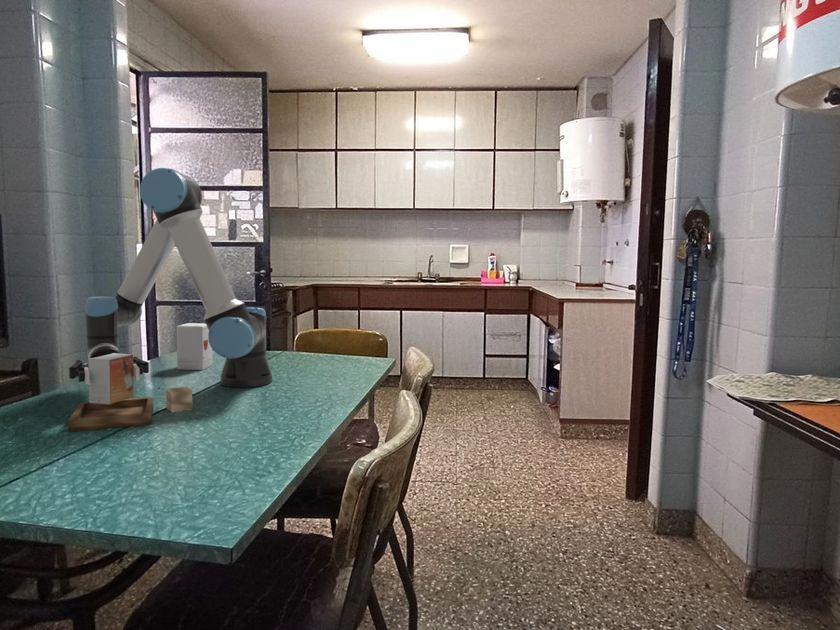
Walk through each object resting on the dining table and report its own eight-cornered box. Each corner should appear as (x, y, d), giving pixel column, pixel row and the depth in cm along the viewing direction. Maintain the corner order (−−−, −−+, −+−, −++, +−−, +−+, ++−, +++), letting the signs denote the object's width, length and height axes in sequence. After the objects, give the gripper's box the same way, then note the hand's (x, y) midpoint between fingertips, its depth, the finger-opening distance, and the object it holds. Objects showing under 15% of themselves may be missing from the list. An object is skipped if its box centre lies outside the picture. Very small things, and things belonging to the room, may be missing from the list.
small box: (109, 405, 125) (108, 359, 124) (88, 403, 126) (87, 358, 125) (134, 397, 133) (133, 354, 132) (114, 395, 134) (113, 352, 133)
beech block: (186, 405, 143) (186, 386, 142) (192, 409, 139) (192, 390, 138) (166, 408, 139) (165, 389, 139) (171, 412, 136) (170, 393, 135)
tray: (153, 406, 140) (153, 397, 140) (150, 424, 126) (150, 413, 125) (80, 412, 134) (80, 402, 134) (68, 431, 119) (68, 420, 119)
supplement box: (203, 370, 185) (202, 326, 183) (176, 369, 185) (175, 325, 183) (213, 365, 194) (212, 323, 192) (188, 364, 194) (187, 322, 192)
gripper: (152, 370, 150) (166, 387, 131) (55, 377, 138) (55, 398, 119) (151, 343, 149) (165, 356, 131) (54, 348, 137) (54, 364, 119)
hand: (113, 376), depth 125 cm, fingers closed on small box, 9 cm apart
